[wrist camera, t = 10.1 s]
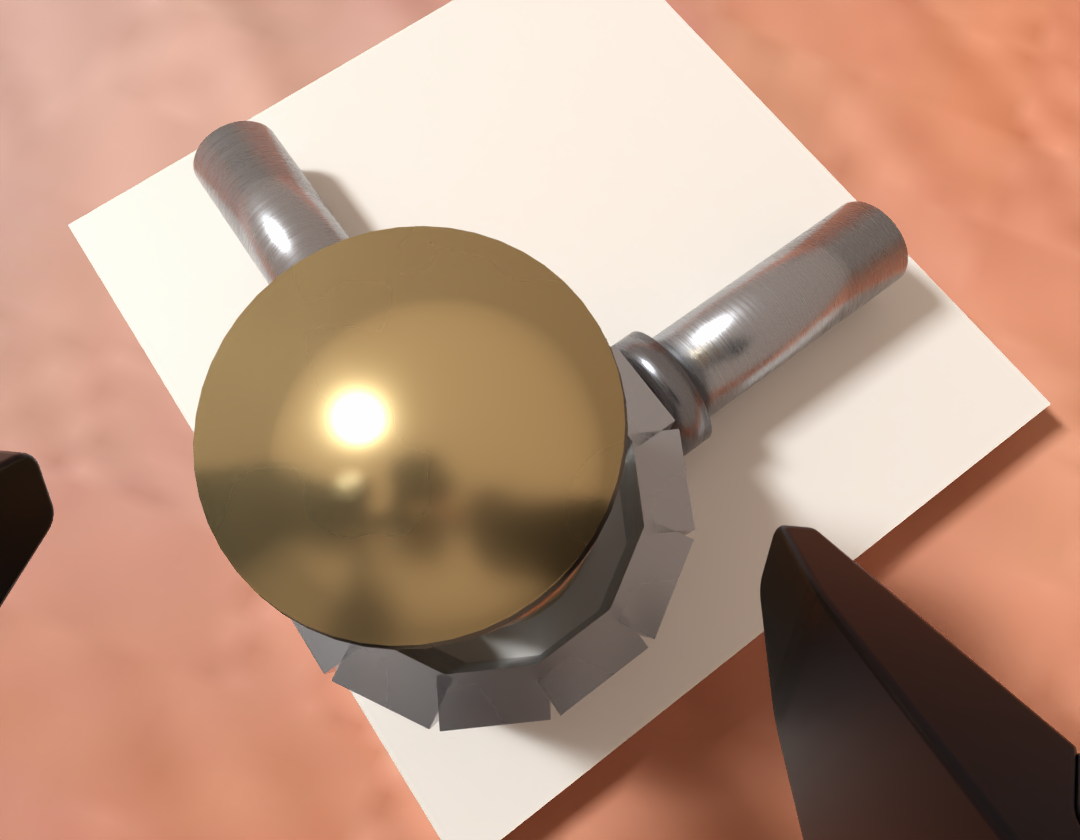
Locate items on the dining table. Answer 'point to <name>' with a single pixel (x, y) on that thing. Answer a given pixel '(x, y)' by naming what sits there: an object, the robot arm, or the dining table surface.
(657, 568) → the steel cradle
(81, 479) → the dining table surface
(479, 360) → the cylinder
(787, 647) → the robot arm
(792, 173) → the mounting plate
